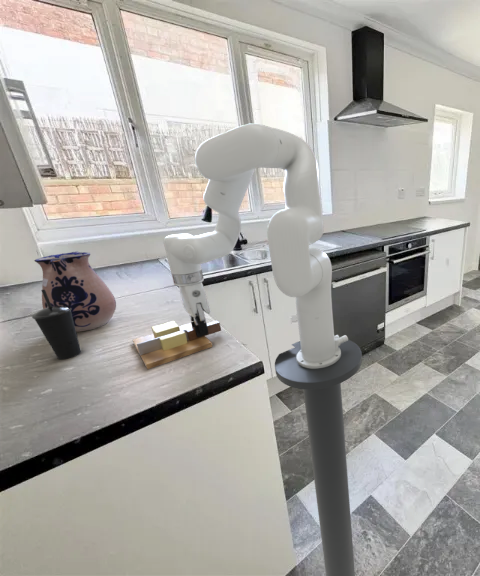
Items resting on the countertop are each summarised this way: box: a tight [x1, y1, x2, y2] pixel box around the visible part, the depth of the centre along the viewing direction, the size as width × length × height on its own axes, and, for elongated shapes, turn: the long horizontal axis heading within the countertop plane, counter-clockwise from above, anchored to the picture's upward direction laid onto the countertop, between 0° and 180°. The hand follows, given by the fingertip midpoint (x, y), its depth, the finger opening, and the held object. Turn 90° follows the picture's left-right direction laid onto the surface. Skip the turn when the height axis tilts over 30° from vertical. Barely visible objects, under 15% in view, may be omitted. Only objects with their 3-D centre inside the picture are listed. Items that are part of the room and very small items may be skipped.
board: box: [132, 322, 213, 370], centre depth 93 cm, size 16×20×2 cm
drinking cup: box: [31, 289, 82, 360], centre depth 86 cm, size 8×8×20 cm
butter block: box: [151, 320, 180, 338], centre depth 95 cm, size 6×6×4 cm
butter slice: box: [159, 331, 187, 351], centre depth 89 cm, size 6×2×4 cm, turn 136°
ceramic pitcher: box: [33, 250, 117, 333], centre depth 104 cm, size 18×21×25 cm
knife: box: [137, 320, 222, 356], centre depth 92 cm, size 21×2×4 cm, turn 136°
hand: (201, 333), depth 95 cm, fingers closed on knife, 2 cm apart
